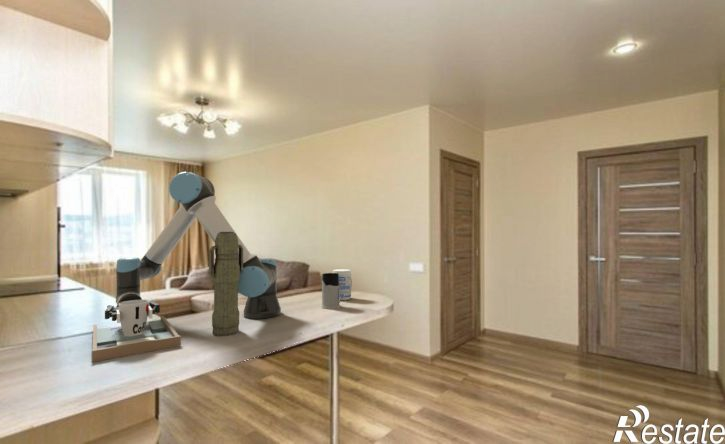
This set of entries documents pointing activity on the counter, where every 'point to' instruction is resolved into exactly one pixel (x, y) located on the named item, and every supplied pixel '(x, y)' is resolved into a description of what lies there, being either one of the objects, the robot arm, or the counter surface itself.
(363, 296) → the counter surface
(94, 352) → the wooden tray
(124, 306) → the cup
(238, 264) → the thermos
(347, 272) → the supplement tub
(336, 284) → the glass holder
